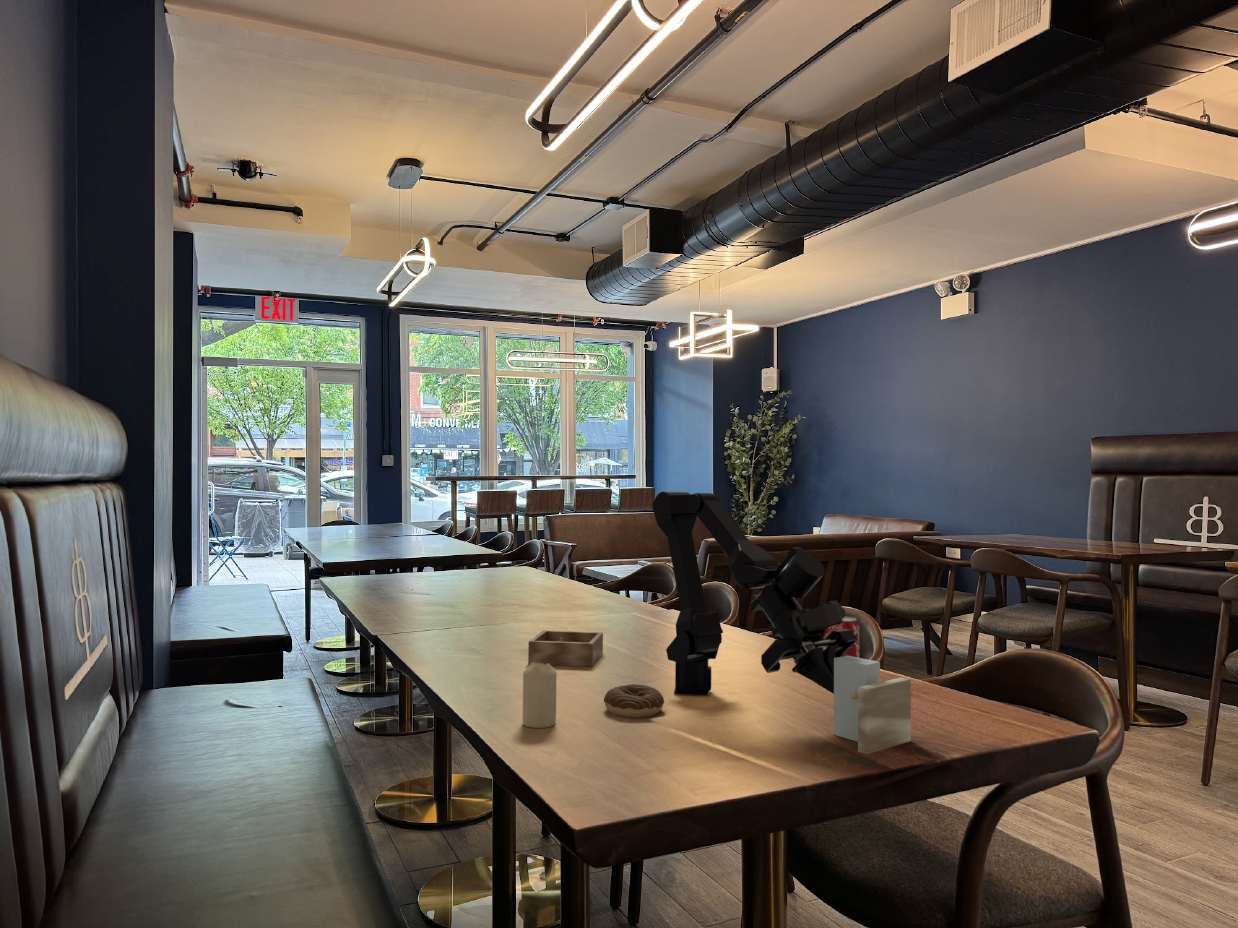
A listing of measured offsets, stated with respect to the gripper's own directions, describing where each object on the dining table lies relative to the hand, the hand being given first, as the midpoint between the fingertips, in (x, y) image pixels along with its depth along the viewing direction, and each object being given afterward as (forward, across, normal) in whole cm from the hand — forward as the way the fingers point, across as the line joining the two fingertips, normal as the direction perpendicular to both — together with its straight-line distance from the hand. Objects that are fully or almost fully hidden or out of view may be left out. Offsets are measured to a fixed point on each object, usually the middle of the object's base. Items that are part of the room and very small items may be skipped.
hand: (839, 693), depth 130 cm
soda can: (-12, +31, +22) cm, 40 cm away
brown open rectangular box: (-48, -3, +57) cm, 75 cm away
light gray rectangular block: (+7, 0, +2) cm, 7 cm away
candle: (-19, -35, +28) cm, 49 cm away
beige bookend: (+5, 0, +4) cm, 7 cm away
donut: (-17, -18, +27) cm, 36 cm away
